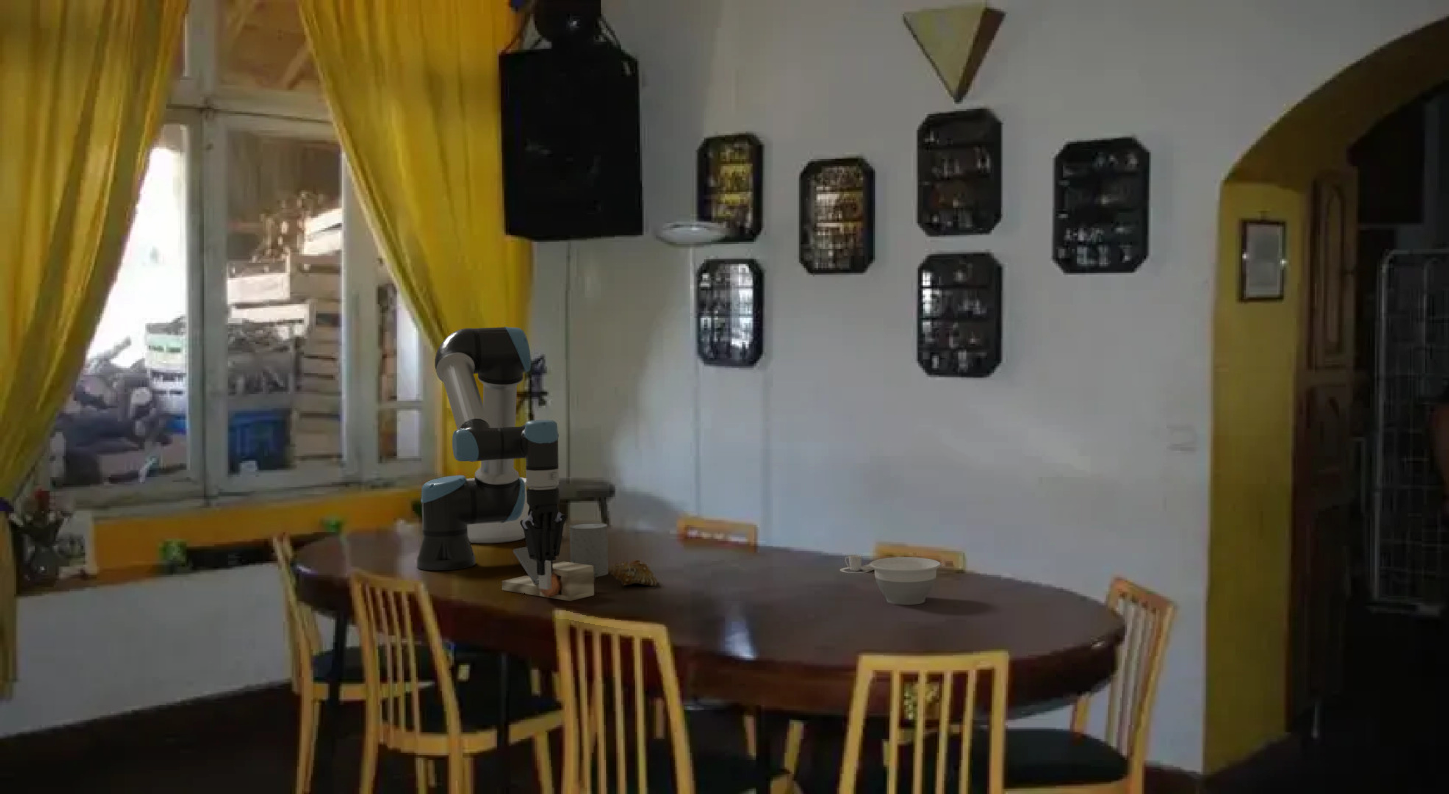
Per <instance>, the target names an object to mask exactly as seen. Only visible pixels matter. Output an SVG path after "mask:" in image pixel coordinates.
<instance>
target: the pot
mask: <svg viewBox="0 0 1449 794" xmlns="http://www.w3.org/2000/svg"><path fill="white" fill-rule="evenodd" d="M521 478H522V479H523V481H524V484H525V503H524V508H523V511H522V514H521V516H520V517H519V518H518V519H517V520H514V521H507V522H504V523H501V522H498V523H483V524H469V525H467V531H468V538H469V541H470V544H500V543H508V542H509V543H510V542H514V541H521V540H524V539H525V535H524V530H523V528H522V526H521V524H520V521H521V520H525V519H526V518H527V517H528V511H529V505H528V504H527V491H526V490H527V486H526V477H521ZM466 479H467V481H472V480H475V477H473V478H466Z"/></svg>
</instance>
